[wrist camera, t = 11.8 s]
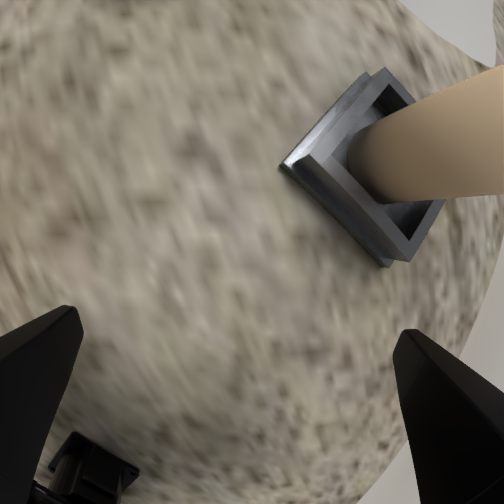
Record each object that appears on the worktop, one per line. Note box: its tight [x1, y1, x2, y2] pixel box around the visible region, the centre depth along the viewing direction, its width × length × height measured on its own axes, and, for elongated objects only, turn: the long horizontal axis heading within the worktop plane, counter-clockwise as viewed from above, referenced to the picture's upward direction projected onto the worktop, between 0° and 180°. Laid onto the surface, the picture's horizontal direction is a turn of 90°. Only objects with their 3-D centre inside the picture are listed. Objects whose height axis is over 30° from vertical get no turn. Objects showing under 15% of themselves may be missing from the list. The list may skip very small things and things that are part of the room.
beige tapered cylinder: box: [348, 64, 504, 204], centre depth 15 cm, size 6×6×13 cm
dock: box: [280, 67, 446, 268], centre depth 20 cm, size 11×11×4 cm
